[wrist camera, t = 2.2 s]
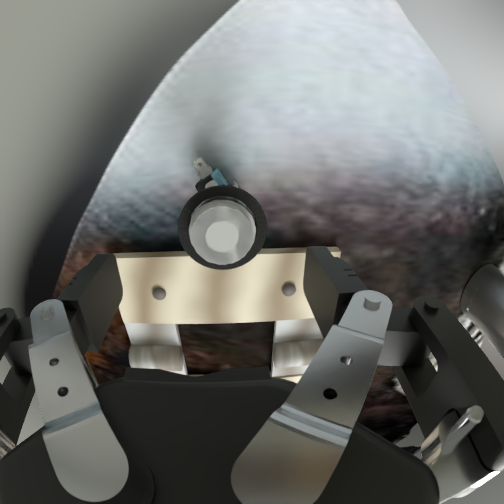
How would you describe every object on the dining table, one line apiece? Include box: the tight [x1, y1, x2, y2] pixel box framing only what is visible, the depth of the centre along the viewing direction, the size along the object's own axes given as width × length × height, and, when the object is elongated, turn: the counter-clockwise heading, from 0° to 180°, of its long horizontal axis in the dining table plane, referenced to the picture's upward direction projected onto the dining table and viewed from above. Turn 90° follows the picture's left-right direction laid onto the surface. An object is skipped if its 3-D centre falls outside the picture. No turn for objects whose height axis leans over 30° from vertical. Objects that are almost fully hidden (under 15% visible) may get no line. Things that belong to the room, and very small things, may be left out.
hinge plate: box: [113, 247, 341, 383], centre depth 31 cm, size 23×26×3 cm
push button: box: [178, 157, 267, 270], centre depth 20 cm, size 7×5×10 cm
